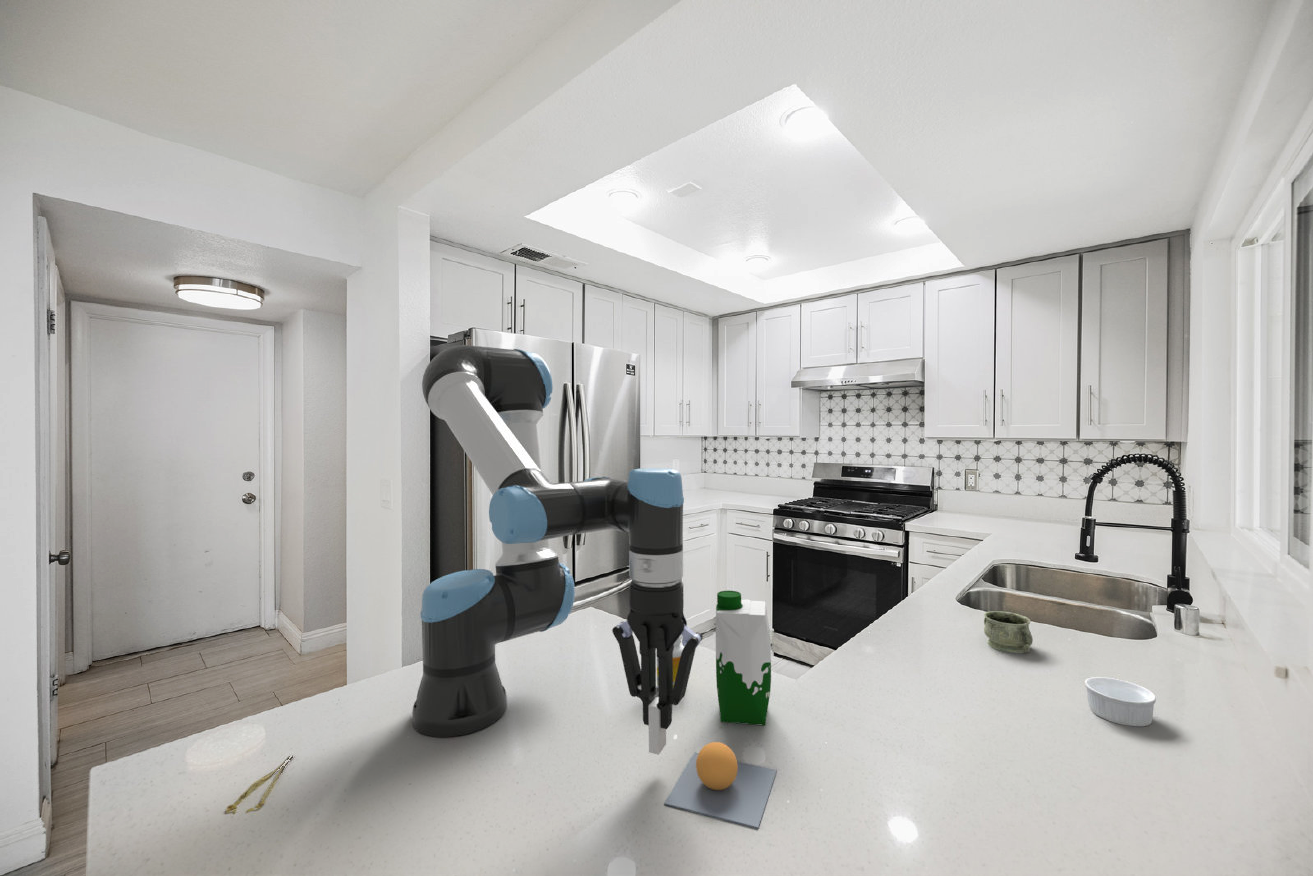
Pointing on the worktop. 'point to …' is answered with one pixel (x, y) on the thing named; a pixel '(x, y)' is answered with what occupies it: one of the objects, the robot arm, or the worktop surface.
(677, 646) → the supplement bottle
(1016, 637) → the vessel
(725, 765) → the ball
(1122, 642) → the worktop surface
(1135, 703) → the ramekin
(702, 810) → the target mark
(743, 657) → the milk carton
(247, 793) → the tongs
